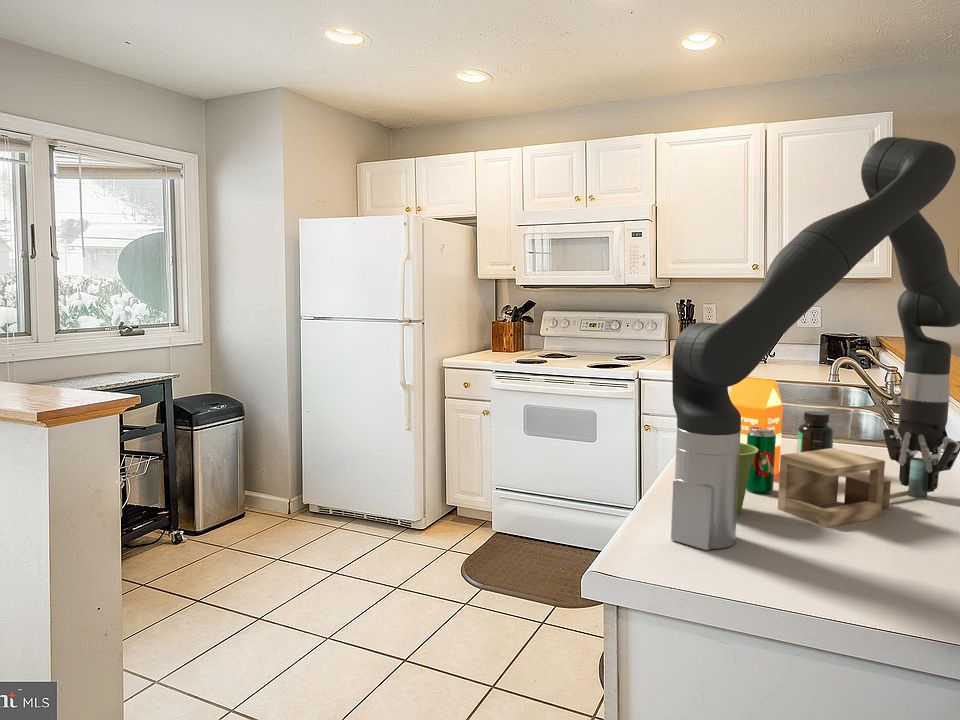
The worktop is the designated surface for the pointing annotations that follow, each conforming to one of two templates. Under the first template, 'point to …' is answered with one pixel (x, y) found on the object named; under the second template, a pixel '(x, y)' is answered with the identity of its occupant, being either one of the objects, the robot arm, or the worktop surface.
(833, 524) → the box
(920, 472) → the tethered block
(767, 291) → the robot arm
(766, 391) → the orange juice
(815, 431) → the supplement bottle
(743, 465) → the plant pot
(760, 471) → the soda can
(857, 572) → the worktop surface
